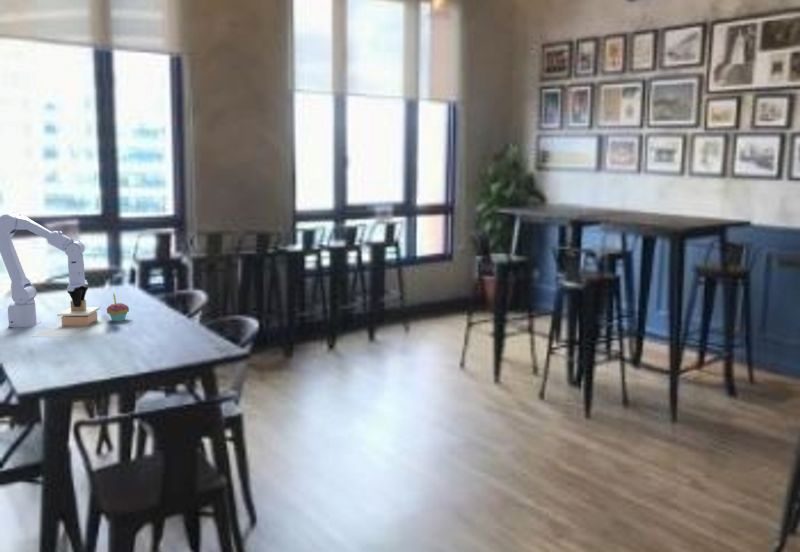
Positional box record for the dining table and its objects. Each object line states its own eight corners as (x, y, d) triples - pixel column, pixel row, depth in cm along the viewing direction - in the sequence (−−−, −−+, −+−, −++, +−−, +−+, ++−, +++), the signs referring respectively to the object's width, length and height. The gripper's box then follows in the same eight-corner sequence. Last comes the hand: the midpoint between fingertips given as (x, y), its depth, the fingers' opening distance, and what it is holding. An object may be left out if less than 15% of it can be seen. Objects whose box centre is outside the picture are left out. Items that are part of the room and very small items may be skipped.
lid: (57, 315, 291) (56, 303, 290) (69, 309, 303) (68, 297, 302) (88, 315, 292) (87, 303, 291) (99, 308, 303) (98, 297, 303)
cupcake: (121, 323, 299) (120, 294, 297) (102, 322, 301) (100, 293, 299) (133, 318, 308) (132, 290, 306) (114, 317, 309) (113, 289, 307)
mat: (31, 337, 276) (31, 336, 276) (48, 328, 290) (48, 327, 290) (70, 337, 277) (70, 336, 276) (85, 328, 290) (84, 327, 290)
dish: (62, 327, 293) (61, 316, 292) (72, 321, 303) (71, 311, 302) (88, 326, 293) (87, 316, 293) (97, 321, 303) (96, 311, 302)
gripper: (79, 275, 287) (81, 309, 290) (93, 269, 302) (95, 302, 304) (60, 275, 287) (63, 309, 290) (76, 269, 302) (78, 302, 304)
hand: (78, 305), depth 297 cm, fingers closed on lid, 2 cm apart
